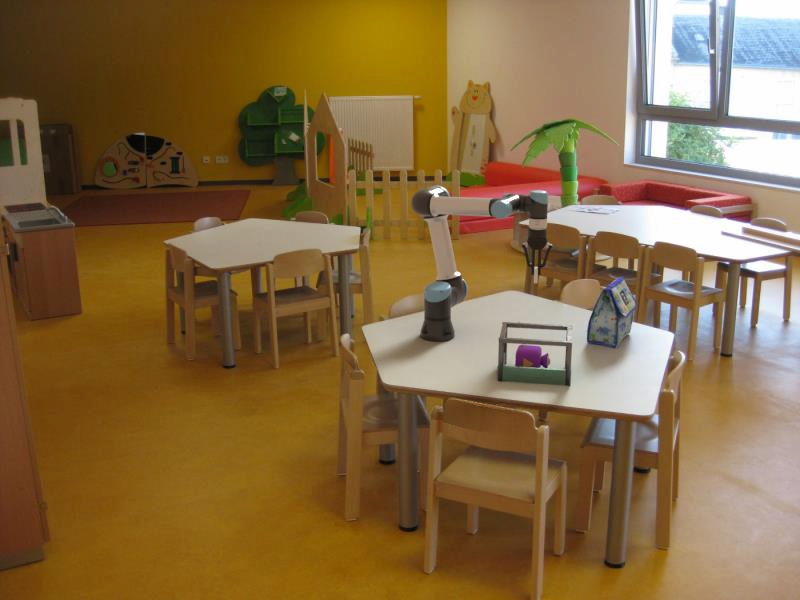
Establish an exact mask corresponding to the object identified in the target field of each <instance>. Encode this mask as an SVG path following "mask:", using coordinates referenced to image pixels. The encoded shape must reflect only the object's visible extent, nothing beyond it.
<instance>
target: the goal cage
mask: <svg viewBox="0 0 800 600" xmlns="http://www.w3.org/2000/svg"><path fill="white" fill-rule="evenodd" d="M501 324H502V325H501V330H500V333H499V337H498V357H497V360H498V363H497V371H496V372H497V375H496V381H497V382H510V383H519V384H520V383H522V384H523V383H524V384H536V385H537V384H539V385H541V384H542V385H553V386H554V385H555V386H566V387H569V386H570V387H571V384H572V383H571V381H572V355H573V354H572V350H573V340H572V339H573V337H572V335H573V325H567V324H566V325H565V324H551V323H549V324H548V323H526V322H524V323H523V322H509V321H503V322H502V323H501ZM508 328H510V329H511V328H513V329H531V330H533V329H534V330H548V331H549V330H551V331H553V330H554V331H556V330H557V331H566V337H565V340H556V339H555V340H554V339H539V338H538V339H537V338H522V337H521V338H519V337H517V338H516V337H508ZM508 344H516V345H517V344H518V345H521V344H526V345H531V346H553V347H554V346H555V347H565V355H564V356H565V358H564V360H565V362H564V368H544V367H540V368H534V367H517V366H515V365H506V364H507V363H508V362H507V359H508V357H507V356H508V355H507V354H508Z"/></svg>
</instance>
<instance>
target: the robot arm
mask: <svg viewBox="0 0 800 600" xmlns="http://www.w3.org/2000/svg"><path fill="white" fill-rule="evenodd" d="M548 205H549V193H548V192H547V191H546V190H541V189H538V190H530V192H529V193H528V194H520V193H513V192H512V193H503V195H502V196H501V198H496V197H495V198H493V197H492V198H491V197H470V196H469V197H465V196H463V197H460V196H451V194H450V192H449V191H448V190H447V188H445V187H443V186H441V185H431V186H428V187H425V188H423V189H420V190H419V189H418V190H417V191H416V192H414V193H413V194H412V197H411V198H410V207H411V209H412V211H413V213H414V214H416V215H417V216H419V217H423V221H425V222H427V225H428V230H429V234H430V235H429V236H430V240H431V244H432V245H431V246H432V250H433V255H434V260H435V265H436V271H437V276H436V277H435V281H434V282H429V283H428V284H427V285H426V286H425V287H424V292H423V300H424V301H423V302H424V303H423V305H424V306H423V309H424V312H423V313H424V316H423V317H424V318H423V319H424V320H423V323H422V325H421V328H420V331H419V332H420V338H421V339H423V340H425V341H431V342H445V341H446V342H447V341H450V340H452V339H455V336H456V335H455V333H456V332H455V331H456V330H455V329H454V325H453V322H452V308H453V307H455V306H457V305H459V304H461V303H463V301H464V300H465V299H466V298H467V296H468V295H469V294H468V293H469V286H468V283H467V282H466V280H464V278H462V273H461V272H459V271H458V270H457V269H458V268H457V264H456V259H455V255H454V249H453V244H452V243H453V242H452V239H451V233H450V228H449V224H448V223H449V222H448V217H449V216H450V215H451V216H471V217H492V218H493V217H494V218H496V219H499V220H502V219H507V218H508V217H511V216H512V215H515V214H516V213H522V214H523V213H524V214H528V234H527V240H526V242H523V243H521V248H522V249H523V251H524V256H525V260H526V266H527V267H529V268H531V274H530V275H532V276H533V284H538V279H539V276H541V271H542V270H541V269H542V268H545V267H546V265H547V261H548V257H549V254H550V251H551V250H552V249H553V244H552V243H549V242H548V239H547V237H548V236H547V234H548V233H547V232H548V231H547V230H548V229H547V227H548V207H549V206H548ZM528 246H529V247H530V249H531V258H530V254H529V249H528ZM544 248H546V251H545V253H544V254H545V255H544V257H543V261H542V250H543V249H544ZM536 251H538V252H537V256H538V257H537V266H536V265H535V263H536ZM530 259H531V260H530Z"/></svg>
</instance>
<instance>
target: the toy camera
mask: <svg viewBox="0 0 800 600" xmlns="http://www.w3.org/2000/svg"><path fill="white" fill-rule="evenodd" d="M542 350H543V349H542V347H541V346H540V345H532V344H518V347H517V349H516V351H515V361H514V362H515V363H514V364H515V365H514V366H517V367H534V368H548V367H549V366H550V364H551V358H550V356H549V352H546V353H545V354H542V353H543V351H542ZM541 366H542V367H541Z"/></svg>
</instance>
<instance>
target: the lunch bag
mask: <svg viewBox="0 0 800 600" xmlns="http://www.w3.org/2000/svg"><path fill="white" fill-rule="evenodd" d="M637 306H638V304H637V301H636V298H635V297H634V295H633V294H632V292H631V290H630V287H629V286H628V282H627V280H626V278H625V277H624V276H618V277H617V278H616V279H614V280H613V281H612V282H611V283H609V284H607V285H606V286H605V287H604V288H603V289H602V290H601V292H600V293H599V295H598V297H597V300H596V302H595V304H594V307H593V310H592V312H591V315H590V317H589V320H588V325H587V330H586V343H588V344H590V345H591V344H593V345H594V344H595V345H602V346H606V347H610V348H613V349H616V348H618V346H619V345H620V343H621V342H622V340H623V339H624V338H626V336H628V335H630V334H631V329H632V326H633V317H634V311H635V310H636V308H637Z"/></svg>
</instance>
